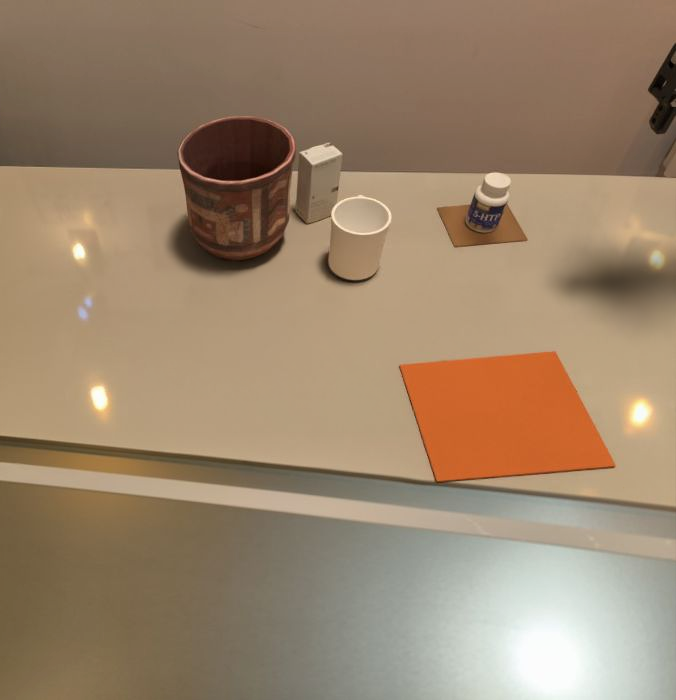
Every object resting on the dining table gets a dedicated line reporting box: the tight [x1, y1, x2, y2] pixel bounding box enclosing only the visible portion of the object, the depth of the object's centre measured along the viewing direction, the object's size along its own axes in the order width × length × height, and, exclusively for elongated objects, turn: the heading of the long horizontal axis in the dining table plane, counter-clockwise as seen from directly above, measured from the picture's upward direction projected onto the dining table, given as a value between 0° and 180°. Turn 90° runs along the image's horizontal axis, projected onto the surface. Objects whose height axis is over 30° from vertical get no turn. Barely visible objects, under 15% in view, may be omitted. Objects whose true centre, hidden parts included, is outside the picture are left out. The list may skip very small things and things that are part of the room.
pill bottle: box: [466, 171, 512, 233], centre depth 99 cm, size 5×5×9 cm
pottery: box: [177, 115, 297, 261], centre depth 98 cm, size 18×18×18 cm
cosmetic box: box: [295, 142, 344, 224], centre depth 103 cm, size 6×4×12 cm
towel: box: [399, 350, 617, 483], centre depth 80 cm, size 22×18×1 cm
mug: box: [327, 194, 392, 283], centre depth 96 cm, size 11×9×10 cm
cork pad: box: [436, 203, 528, 248], centre depth 103 cm, size 12×10×1 cm
